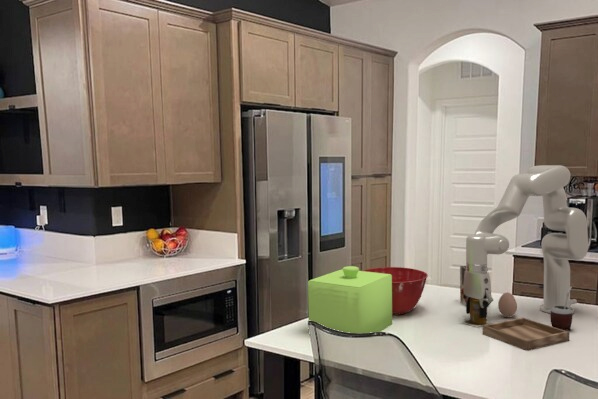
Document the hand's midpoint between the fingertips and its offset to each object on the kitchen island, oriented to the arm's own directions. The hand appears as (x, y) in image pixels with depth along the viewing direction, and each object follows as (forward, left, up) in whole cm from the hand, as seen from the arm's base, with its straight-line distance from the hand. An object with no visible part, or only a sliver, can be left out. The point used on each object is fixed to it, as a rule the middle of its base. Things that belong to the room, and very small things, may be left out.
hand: (476, 314), depth 195 cm
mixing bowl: (+17, -30, -3) cm, 35 cm away
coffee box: (-17, -21, -3) cm, 27 cm away
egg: (-16, 0, -3) cm, 16 cm away
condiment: (0, 0, -3) cm, 3 cm away
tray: (-3, +20, -3) cm, 20 cm away
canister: (+44, -17, -3) cm, 48 cm away
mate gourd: (-21, +20, -3) cm, 29 cm away
